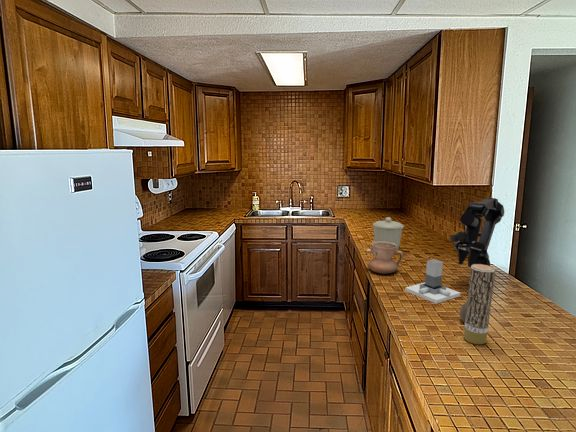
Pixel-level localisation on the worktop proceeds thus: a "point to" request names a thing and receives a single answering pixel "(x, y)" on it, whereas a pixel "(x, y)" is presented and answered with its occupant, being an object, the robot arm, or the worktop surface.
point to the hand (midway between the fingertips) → (464, 264)
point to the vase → (463, 312)
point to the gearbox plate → (432, 293)
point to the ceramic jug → (384, 257)
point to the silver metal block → (433, 274)
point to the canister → (388, 231)
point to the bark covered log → (479, 303)
